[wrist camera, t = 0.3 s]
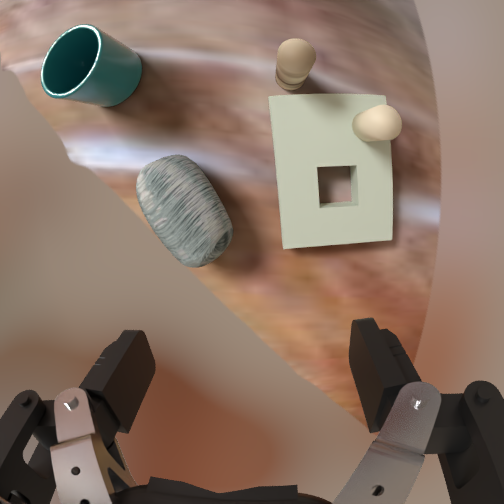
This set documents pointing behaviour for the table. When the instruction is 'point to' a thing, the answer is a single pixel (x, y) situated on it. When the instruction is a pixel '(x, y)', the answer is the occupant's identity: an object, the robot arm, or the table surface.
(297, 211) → the seat board
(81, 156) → the table surface
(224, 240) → the spool
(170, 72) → the table surface
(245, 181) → the table surface
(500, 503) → the robot arm
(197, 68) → the table surface
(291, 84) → the peg
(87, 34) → the cup
